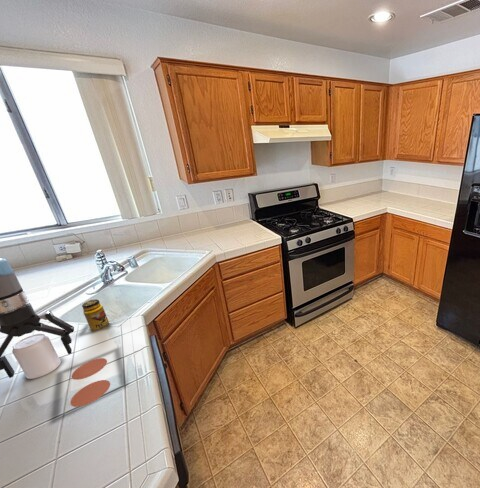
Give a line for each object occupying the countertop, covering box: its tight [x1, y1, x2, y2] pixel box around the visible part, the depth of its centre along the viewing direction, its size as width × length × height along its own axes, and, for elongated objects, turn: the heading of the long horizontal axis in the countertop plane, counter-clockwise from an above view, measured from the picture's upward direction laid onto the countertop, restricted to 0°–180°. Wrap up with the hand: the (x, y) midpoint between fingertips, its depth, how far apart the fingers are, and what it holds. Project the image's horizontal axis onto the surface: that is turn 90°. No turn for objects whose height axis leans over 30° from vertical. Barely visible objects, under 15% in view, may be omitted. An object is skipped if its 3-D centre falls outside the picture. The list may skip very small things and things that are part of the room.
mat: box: [69, 357, 111, 408], centre depth 81 cm, size 15×22×1 cm
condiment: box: [81, 298, 110, 331], centre depth 106 cm, size 7×8×12 cm
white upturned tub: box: [11, 333, 61, 380], centre depth 85 cm, size 8×8×12 cm
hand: (42, 363), depth 86 cm, fingers open, 13 cm apart
